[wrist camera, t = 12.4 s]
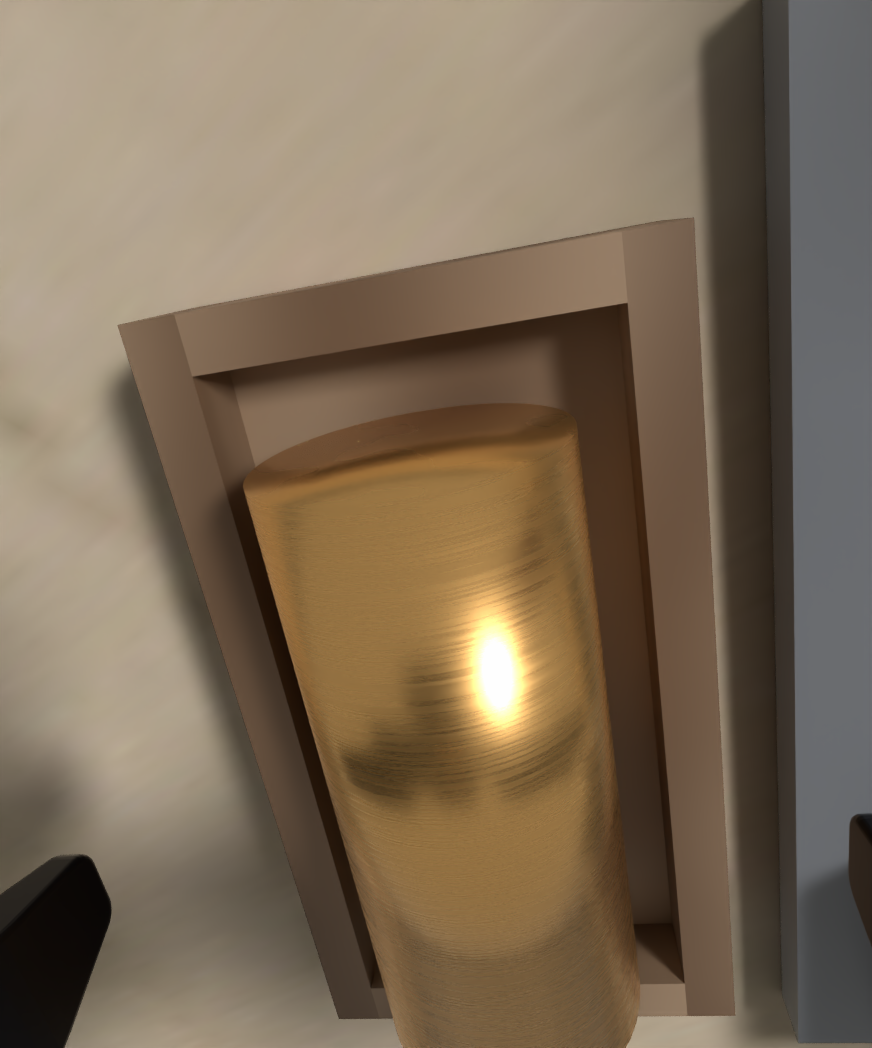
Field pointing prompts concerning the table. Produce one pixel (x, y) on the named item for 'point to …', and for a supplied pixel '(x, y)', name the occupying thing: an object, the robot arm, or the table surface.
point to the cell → (462, 716)
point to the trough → (613, 520)
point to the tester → (821, 493)
